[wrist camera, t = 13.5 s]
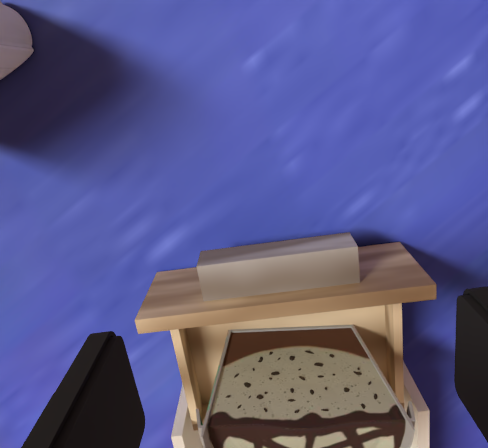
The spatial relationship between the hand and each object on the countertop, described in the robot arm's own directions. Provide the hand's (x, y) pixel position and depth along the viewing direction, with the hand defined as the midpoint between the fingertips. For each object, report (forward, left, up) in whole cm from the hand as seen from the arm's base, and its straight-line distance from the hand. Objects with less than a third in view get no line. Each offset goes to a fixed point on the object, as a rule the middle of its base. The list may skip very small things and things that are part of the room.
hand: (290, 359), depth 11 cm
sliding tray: (-11, 0, -20) cm, 23 cm away
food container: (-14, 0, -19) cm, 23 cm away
